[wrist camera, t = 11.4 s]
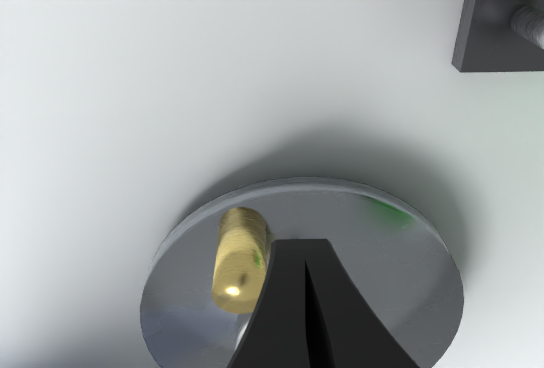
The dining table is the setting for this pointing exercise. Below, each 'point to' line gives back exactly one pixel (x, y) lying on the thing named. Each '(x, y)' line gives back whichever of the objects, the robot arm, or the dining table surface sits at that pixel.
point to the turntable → (298, 225)
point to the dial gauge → (500, 36)
